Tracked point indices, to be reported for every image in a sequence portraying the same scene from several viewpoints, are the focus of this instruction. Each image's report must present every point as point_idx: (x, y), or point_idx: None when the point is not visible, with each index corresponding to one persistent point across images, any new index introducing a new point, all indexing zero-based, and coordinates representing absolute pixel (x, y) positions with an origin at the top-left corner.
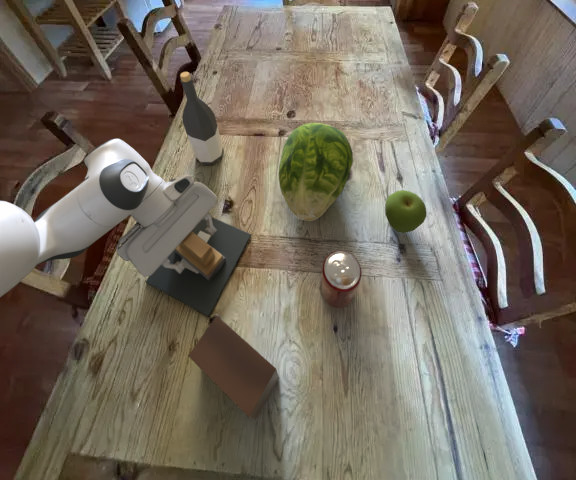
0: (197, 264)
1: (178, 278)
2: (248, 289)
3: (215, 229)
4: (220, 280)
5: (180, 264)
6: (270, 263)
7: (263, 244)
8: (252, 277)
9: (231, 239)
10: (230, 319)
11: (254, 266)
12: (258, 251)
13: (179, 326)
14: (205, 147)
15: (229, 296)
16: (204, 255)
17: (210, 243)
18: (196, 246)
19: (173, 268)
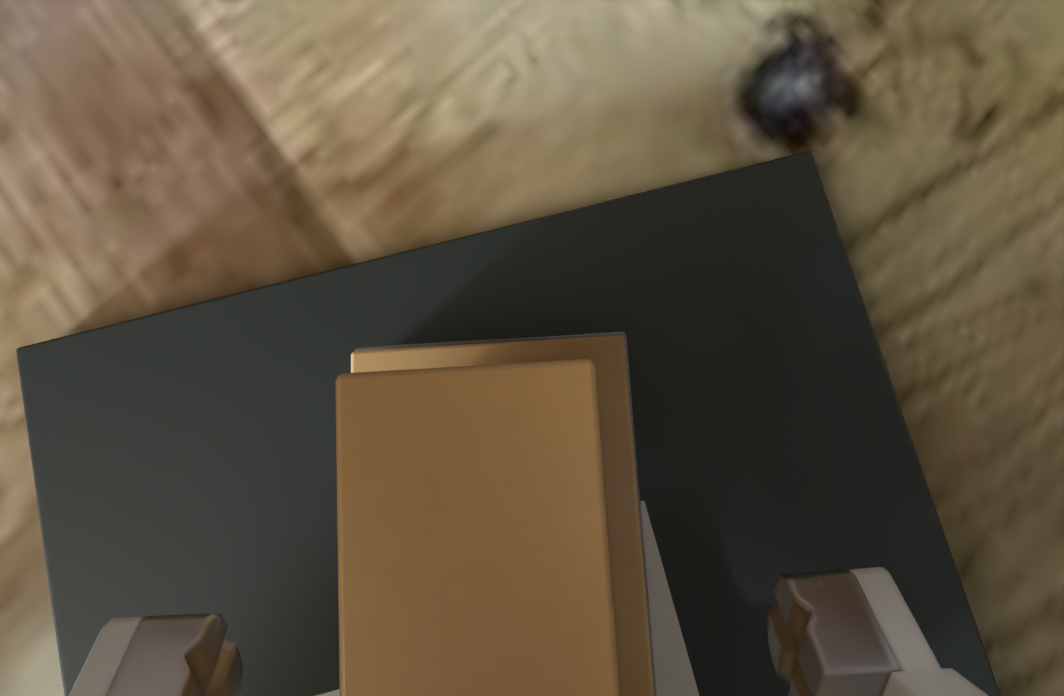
0: (616, 516)
1: None
2: (437, 58)
3: (105, 638)
4: (542, 275)
5: (834, 648)
6: (157, 48)
7: (49, 204)
8: (342, 94)
9: (176, 478)
10: (690, 25)
11: (259, 139)
12: (130, 198)
13: (1014, 309)
14: None
15: (578, 144)
16: (516, 365)
17: None
18: (499, 606)
19: (965, 683)
